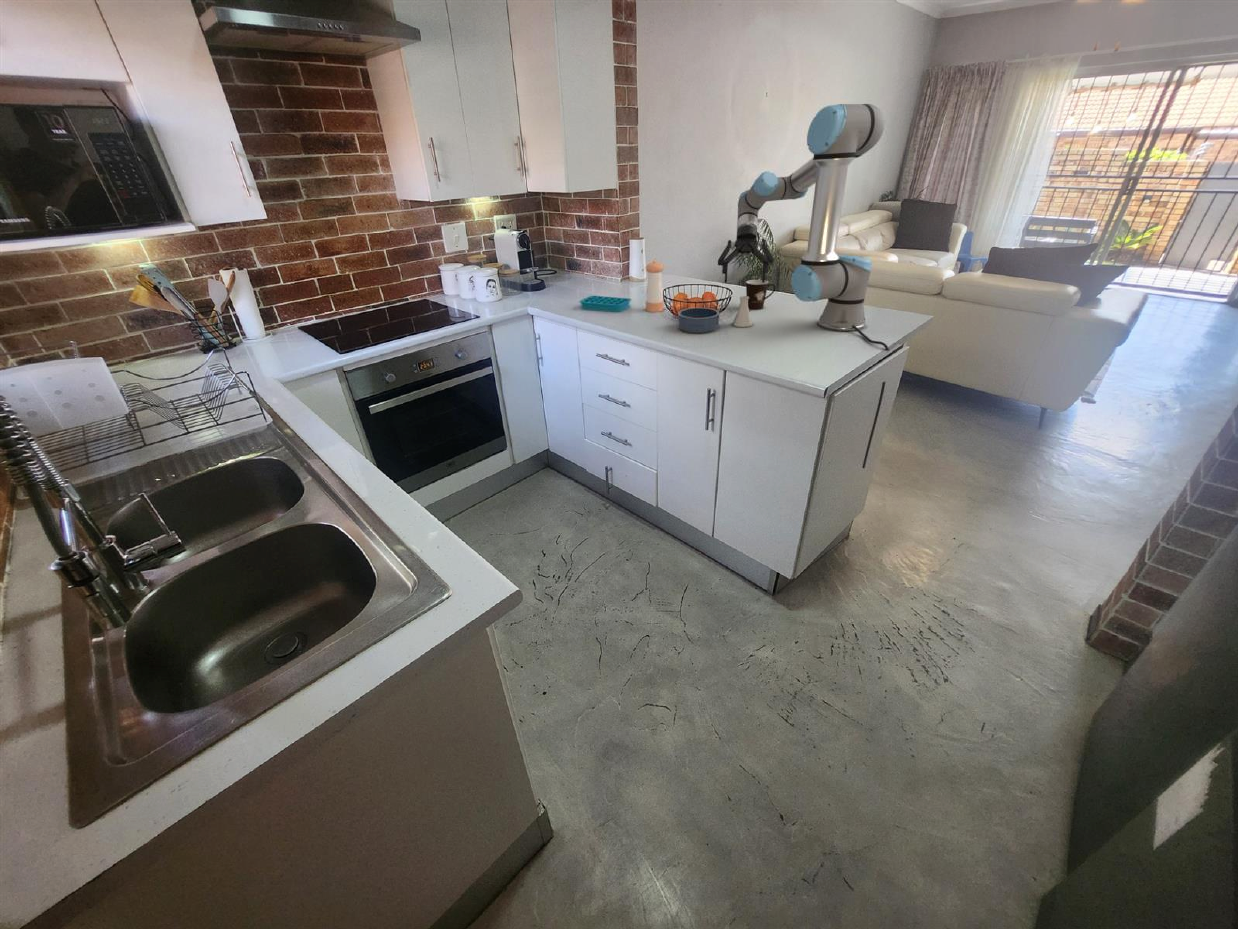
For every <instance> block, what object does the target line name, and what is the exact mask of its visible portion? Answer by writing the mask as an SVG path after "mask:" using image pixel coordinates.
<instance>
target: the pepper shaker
mask: <svg viewBox="0 0 1238 929" xmlns="http://www.w3.org/2000/svg"><path fill="white" fill-rule="evenodd" d="M664 269H665V268H664V264H663V263H661V262H657V260H653V261H652V262H649V263H648V264H646V267H645V270H646V272H647V288H646V300H645V310H646V311H647V312H649V313H659V312H663V311H664V310H665V307H664V306H665V302H664V289H663V284H662V283H663V282H662V275H663V274H662V272H663V271H664Z"/></svg>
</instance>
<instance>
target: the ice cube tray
mask: <svg viewBox="0 0 1238 929" xmlns="http://www.w3.org/2000/svg"><path fill="white" fill-rule="evenodd" d="M631 301H632V298H627V297H617V296H616V297H615V296H602V295H590V296H588V297H585V298H583V299H581V300H579V301H578V303H580V304H581V309H582V310H592V311H602V312H612V313H620V312H622V311H624V310H626V309H627V308H629V307H630V302H631Z"/></svg>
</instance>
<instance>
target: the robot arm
mask: <svg viewBox="0 0 1238 929" xmlns="http://www.w3.org/2000/svg"><path fill="white" fill-rule="evenodd" d="M885 125H886V124H885V116H884V113H883V111H882V110H881V109H880V108H879V107H878V106H876V105H874V104H873V103H859V104H858V103H837V104H830V105H827V106H824V107H823V108H821V109H820V110H819V111H817V113H816V114H815V116H814V117H813V118H812V121H811V122H810V125H809V127H808V130H807V134H806V145H807V147H808V150H809V152H810V153H811V154H812V155H813V156H812V158H811V159H809V160H808V161H807V162H806V163H804V164H803V165H801V166H800V167H798V169H796V170H795V171H793V172H792V173H791V174H789V175H787V176H777V175H776V174H775V173H774V172H770V171H763V172H761V174H759V176H758V177H757V178H756V179H755V180H754V181H753V184H752V185H751V187H750V188H749V189H746V190H744V191H742V192H740V195H739V197H738V201H737V221H736V238H735V241H732V240H731V239H729V240H728V241H727V244H726V247H725V248H724V250H723V251H722V253H721V254H720V256H719V258H718V259H717V266H721V267H722V268H721V269H722V270H721V274H722V275H724V284H727V283H728V270H729V268H728V267H729V264H730V263H731V262H732V261H733V260H734V259H735V258H736V257H737V256H739V255H740V254H741V255H746V254H747V255H750V254H752V255H753V256H755V257H756V258H757V260H758V261H759V262H760V263H762V272H761V273H762V276H761V280H762V283H764V281H766V274H769V266H773V265H774V262H775V259H774V256H773V254H771V251H770V248H768V246H767V243H766V239H762V240H760V241H758V225H759V224H758V222H759V221H758V218H759V211H760V210H761V209H762V207H763V206H764V205H765V204H766V202H773V201H774V202H775V201H776V202H777V201H788V200H798V199H802V198H804V197H805V196H806V195H807V193H808V191H809V188H811V187H812V186H814V185H815V186H814V193H813V201H812V210H811V217H810V224H809V233H808V241H807V250H806V252H805V254H804V255H803V256H801V259H800V265H798V266H797V267H795V268H794V270H793V271H792V274H791V278H790V285H791V289H792V292H793V293H794V295H795V297H796V298H797V299H798V300H800V301H802V302H805V303H806V302H817V301H822V300H823V301H824V300H827V303H826V305H825V307H824V309H823V312H822V313H821V315H820V316H819V319H818V326H819V327H821V328H823V329H826V330H831V331H838V332H854V331H856V332H857V333H858V334H860V335H861V336H862V337H863V338H864V339H865V340H866V341H867V342H869V343H871V344H877V345H881V346H883V347H884V348H885V350H886V351H888V352H889V351H890V349H889V346H888V345H887V343H885V342H883V341H879V340H872V339H871V338H869V337H868V336H867V335H866V334H865V333H864V332H862V329H864V328H865V326H866V318H865V317H866V316H865V306H864V304H865V298H866V295H867V288H868V284H869V280H870V275H871V272H872V271H871V268H872V261H871V259H870V258H868V257H863V256H859V255H850V254H849V255H848V254H837V252H836V250H837V243H838V236H839V229H840V223H841V216H842V210H843V203H844V196H845V190H846V182H847V175H848V169H849V165H850V164H851V163H852V162H853V161H854V160H855V159H858V158H860V157H862V156H863V155H865V154H866V153H868V152H869V151H870V150H872V149H873V148H874V147H875V146H876V145H877V144H878V142H879V141H880V140H881V138H882V136H883V133H884V130H885ZM758 246H759V247H758ZM734 247H735V248H734ZM732 248H734V250H732V251H731V249H732ZM759 248H760V249H761V251H762V252H761V251H760V249H759ZM730 251H731V253H730ZM729 253H730V254H729ZM881 383H882V384H881V389H880V395H879V397H878V398H879V399H878V403H877V408H876V410H875V415H874V418H873V419H874V420H873V423H872V427H871V431H870V433H869V434H870V435H869V437H868V438H869V439H868V443H867V447H866V450H865V454H864V459H863V463H862V466H861V468H862V469H865V468H866V465H867V464H866V463H867V460H868V456H869V452H870V448H871V444H872V440H873V436H874V433H875V428H876V425H877V422H878V418H879V414H880V410H881V405H882V401H883V397H884V392H885V387H886V381H883V382H881Z"/></svg>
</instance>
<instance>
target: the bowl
mask: <svg viewBox="0 0 1238 929" xmlns="http://www.w3.org/2000/svg"><path fill="white" fill-rule="evenodd" d="M720 314H721V313H720V311H719V310H717V309H715V308H710V307H689V308H684V309H681V310H680V311H678V313H677V327H678V329H679V330H681V331H683V332H686V333H690V334H705V333H710V332H713V331H715V330H717V329H719V327H720V326H719V325H720Z"/></svg>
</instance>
